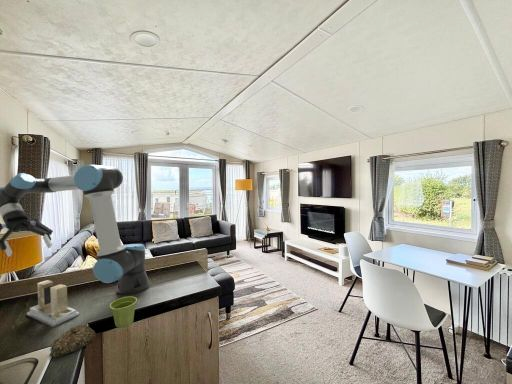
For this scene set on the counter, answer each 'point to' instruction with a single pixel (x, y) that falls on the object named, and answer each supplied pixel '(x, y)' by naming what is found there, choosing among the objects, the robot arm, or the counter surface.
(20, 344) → the counter surface
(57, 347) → the bread roll
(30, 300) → the counter surface
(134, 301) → the plant pot
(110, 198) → the robot arm
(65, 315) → the base plate with posts
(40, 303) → the beech finger
